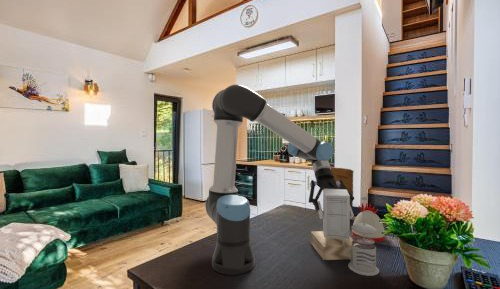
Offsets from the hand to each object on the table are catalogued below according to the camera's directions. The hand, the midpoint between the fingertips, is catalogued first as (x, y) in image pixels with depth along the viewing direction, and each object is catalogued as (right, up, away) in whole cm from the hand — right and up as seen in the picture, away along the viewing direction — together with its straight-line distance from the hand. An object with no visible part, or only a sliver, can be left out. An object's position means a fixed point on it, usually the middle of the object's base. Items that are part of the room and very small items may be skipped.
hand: (336, 217), depth 97 cm
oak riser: (0, -14, +3) cm, 14 cm away
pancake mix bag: (+19, -13, +47) cm, 52 cm away
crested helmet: (+21, -14, +19) cm, 31 cm away
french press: (+5, -15, -10) cm, 18 cm away
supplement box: (0, -7, +2) cm, 7 cm away
